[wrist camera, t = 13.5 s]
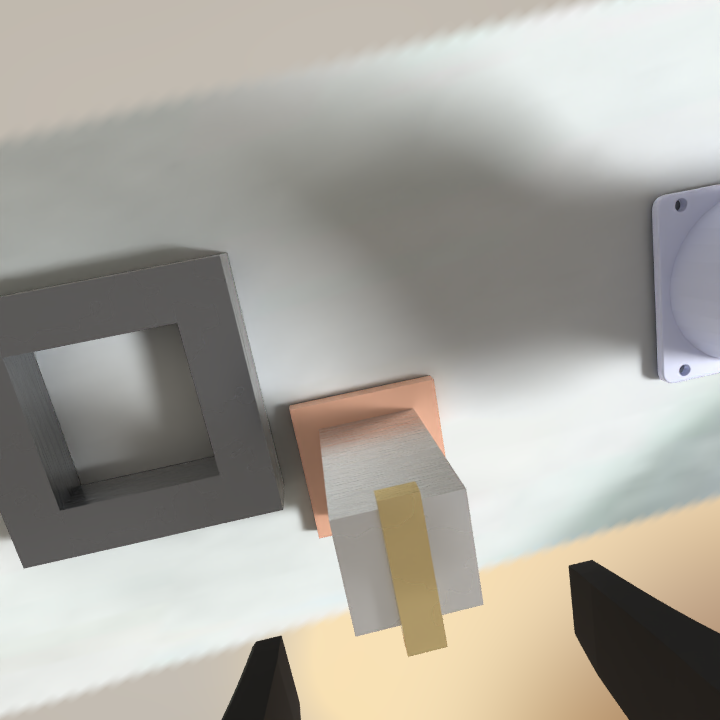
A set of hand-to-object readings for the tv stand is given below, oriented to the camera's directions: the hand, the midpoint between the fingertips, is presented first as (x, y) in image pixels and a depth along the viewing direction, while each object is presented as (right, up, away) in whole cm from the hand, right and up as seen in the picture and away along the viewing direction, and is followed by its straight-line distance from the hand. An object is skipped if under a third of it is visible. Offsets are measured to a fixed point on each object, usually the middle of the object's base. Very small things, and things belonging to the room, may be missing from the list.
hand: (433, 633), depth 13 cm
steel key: (-1, +2, +9) cm, 10 cm away
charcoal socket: (-11, +5, +8) cm, 14 cm away
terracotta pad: (-1, +3, +10) cm, 10 cm away
